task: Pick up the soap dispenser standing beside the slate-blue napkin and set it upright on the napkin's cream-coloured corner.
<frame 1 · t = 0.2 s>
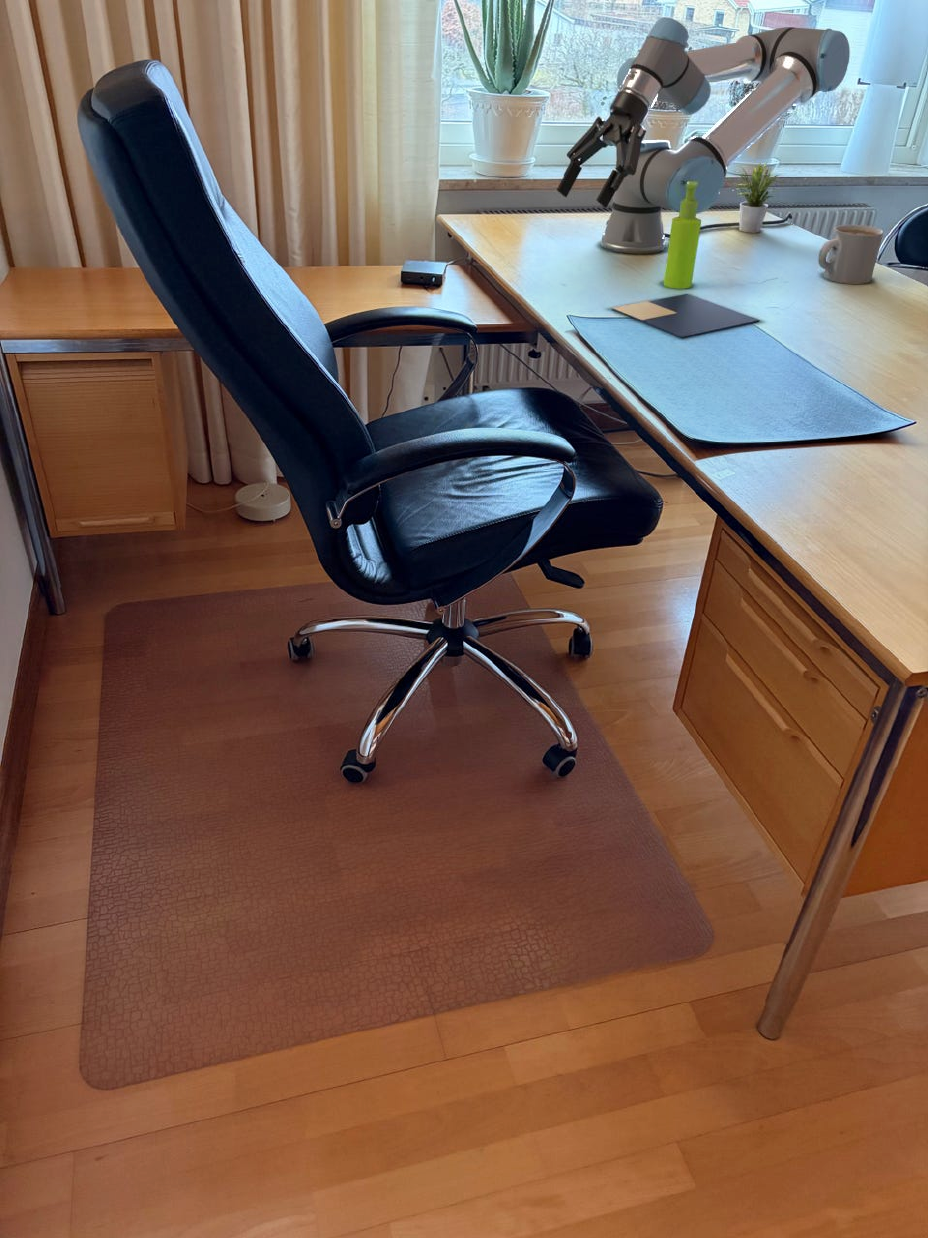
hand: (580, 198, 191), 16 cm above the table, tool tilted 35°, fingers open, 13 cm apart
house plant: (746, 229, 240), on the table
soap dispenser: (677, 285, 196), on the table
coffee mug: (839, 278, 202), on the table
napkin: (684, 315, 178), on the table
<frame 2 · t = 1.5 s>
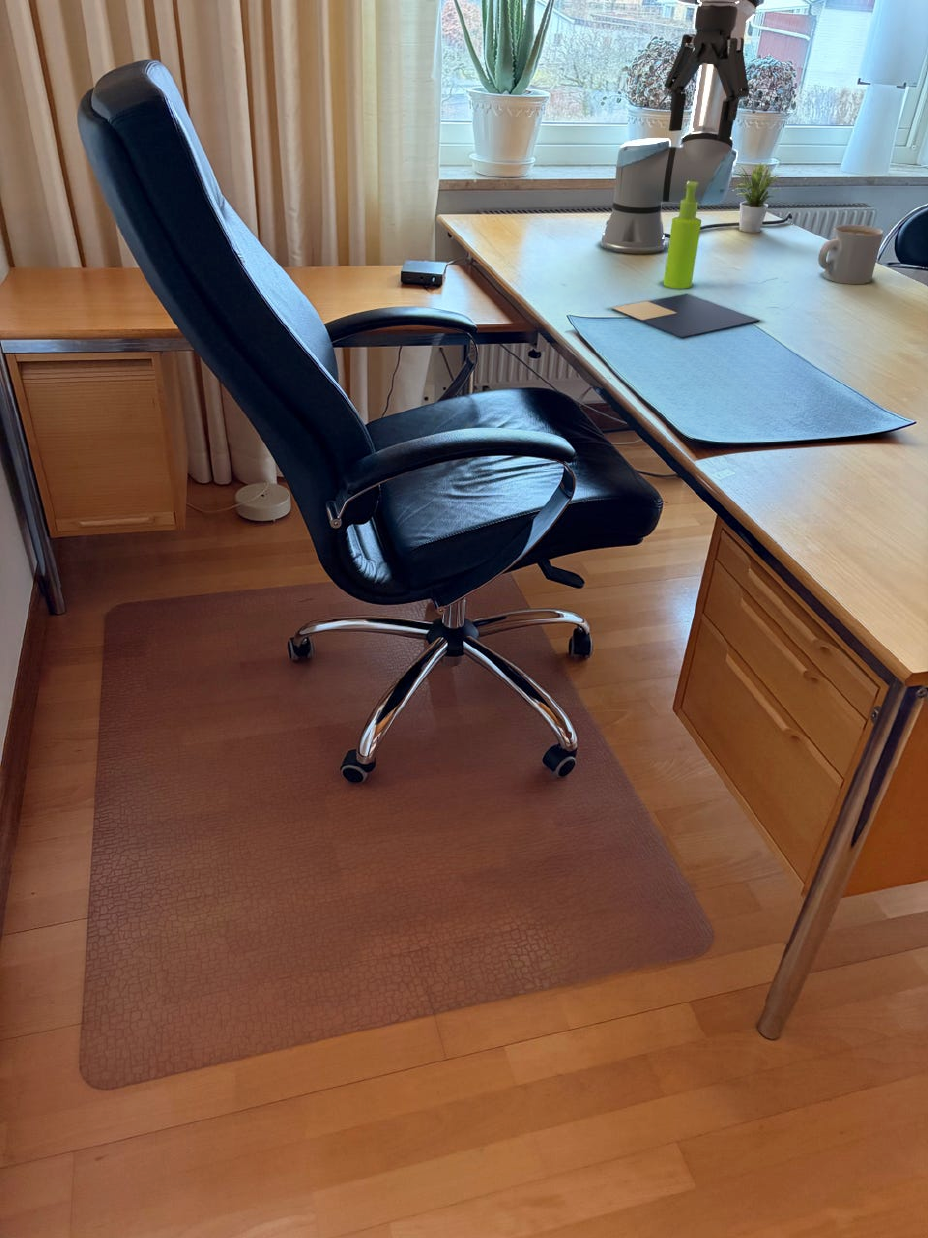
hand: (698, 134, 179), 29 cm above the table, tool pointing down, fingers open, 13 cm apart
nothing on the table moved.
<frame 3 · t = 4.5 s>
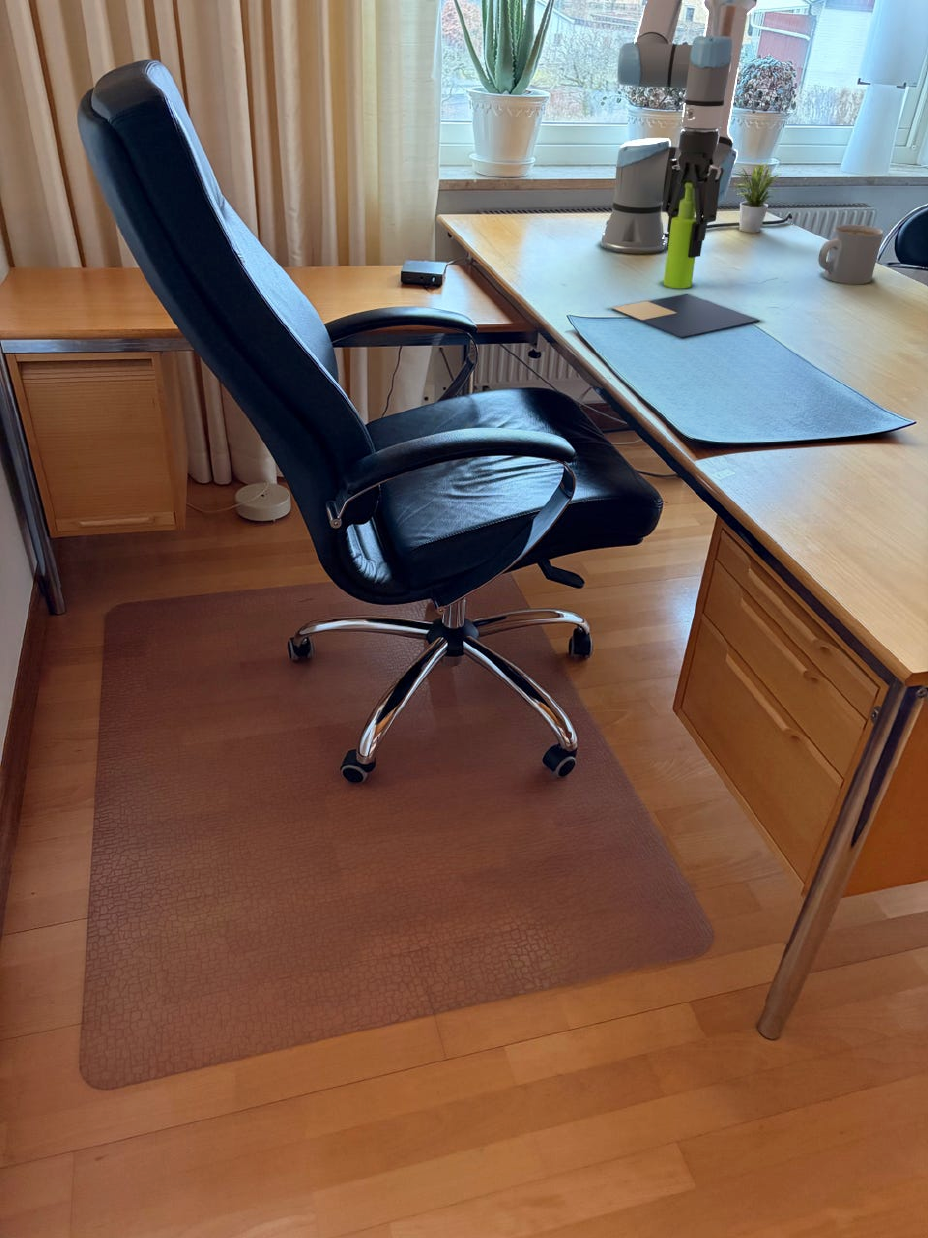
hand: (682, 252, 192), 6 cm above the table, tool pointing down, fingers closed on soap dispenser, 6 cm apart
soap dispenser: (677, 284, 196), on the table, touching gripper
everything else where it was.
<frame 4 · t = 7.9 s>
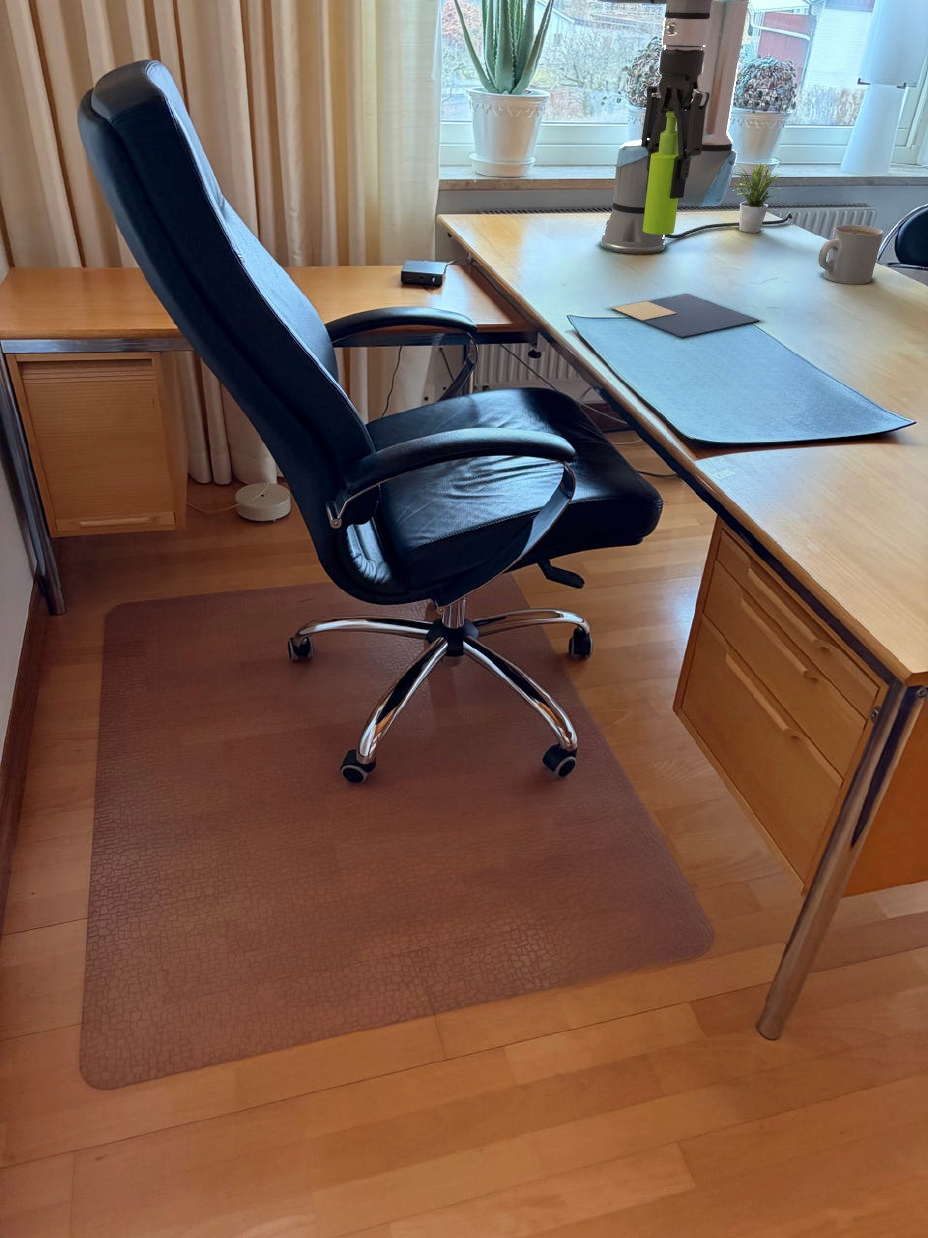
hand: (664, 194, 170), 21 cm above the table, tool pointing down, fingers closed on soap dispenser, 6 cm apart
soap dispenser: (658, 231, 174), point 14 cm above the table, touching gripper
everything else where it was.
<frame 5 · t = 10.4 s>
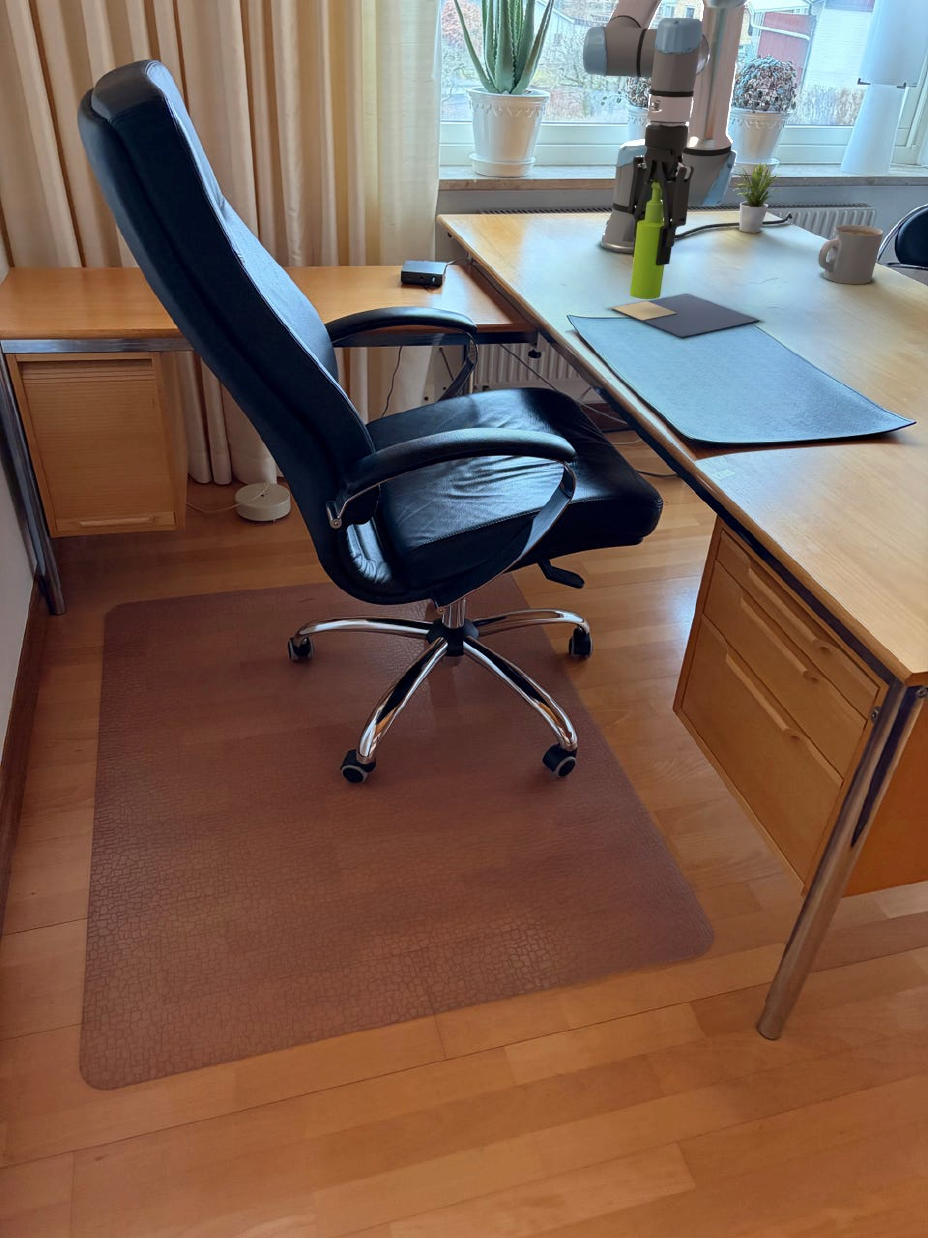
hand: (650, 259, 174), 10 cm above the table, tool pointing down, fingers closed on soap dispenser, 6 cm apart
soap dispenser: (645, 295, 178), point 3 cm above the table, touching gripper
everything else where it was.
when the fingers open (7 cm above the table, at t = 11.6 s): soap dispenser stays where it is, resting on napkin.
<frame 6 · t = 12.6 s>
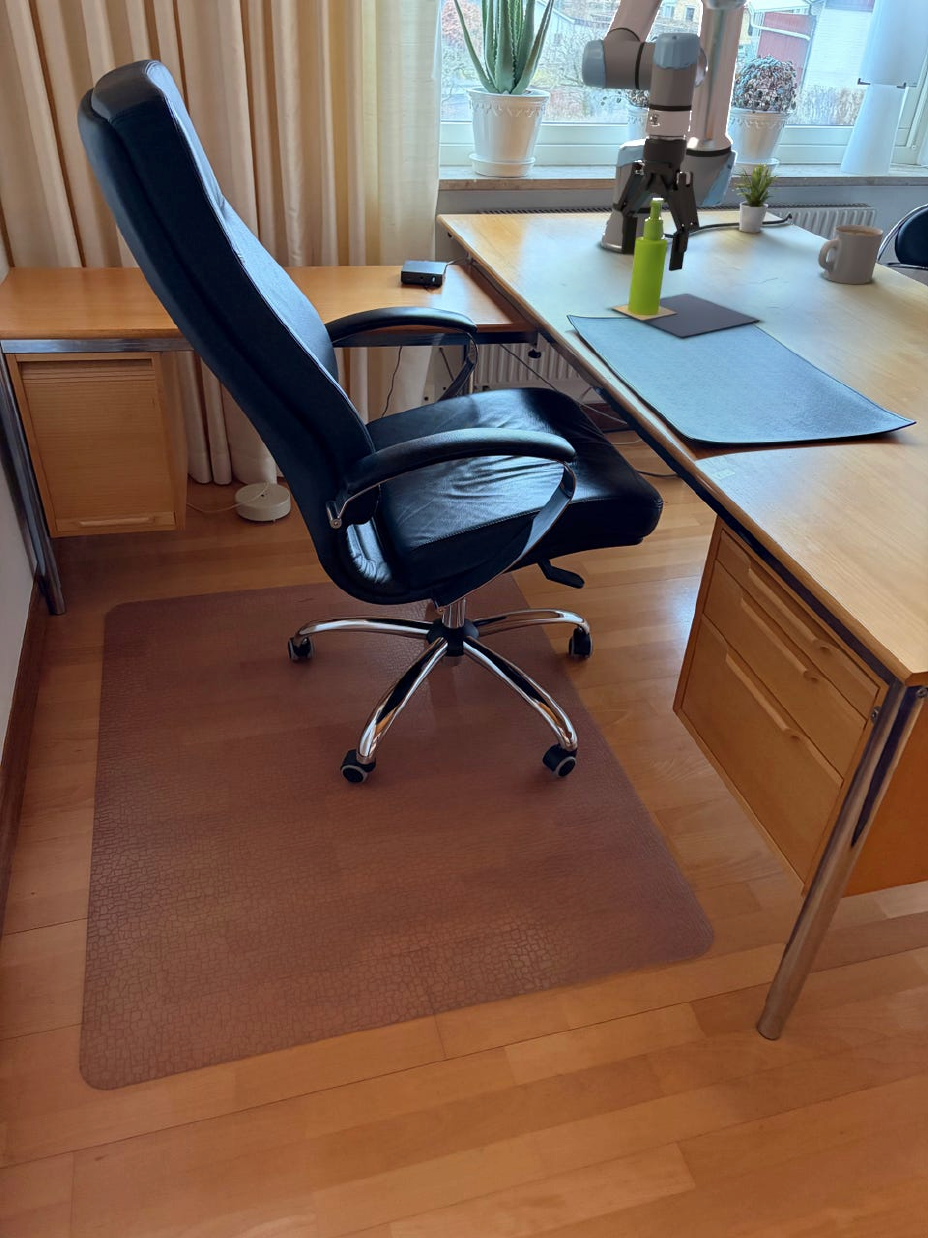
hand: (650, 261, 174), 10 cm above the table, tool pointing down, fingers open, 13 cm apart
soap dispenser: (643, 310, 180), resting on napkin
everything else where it was.
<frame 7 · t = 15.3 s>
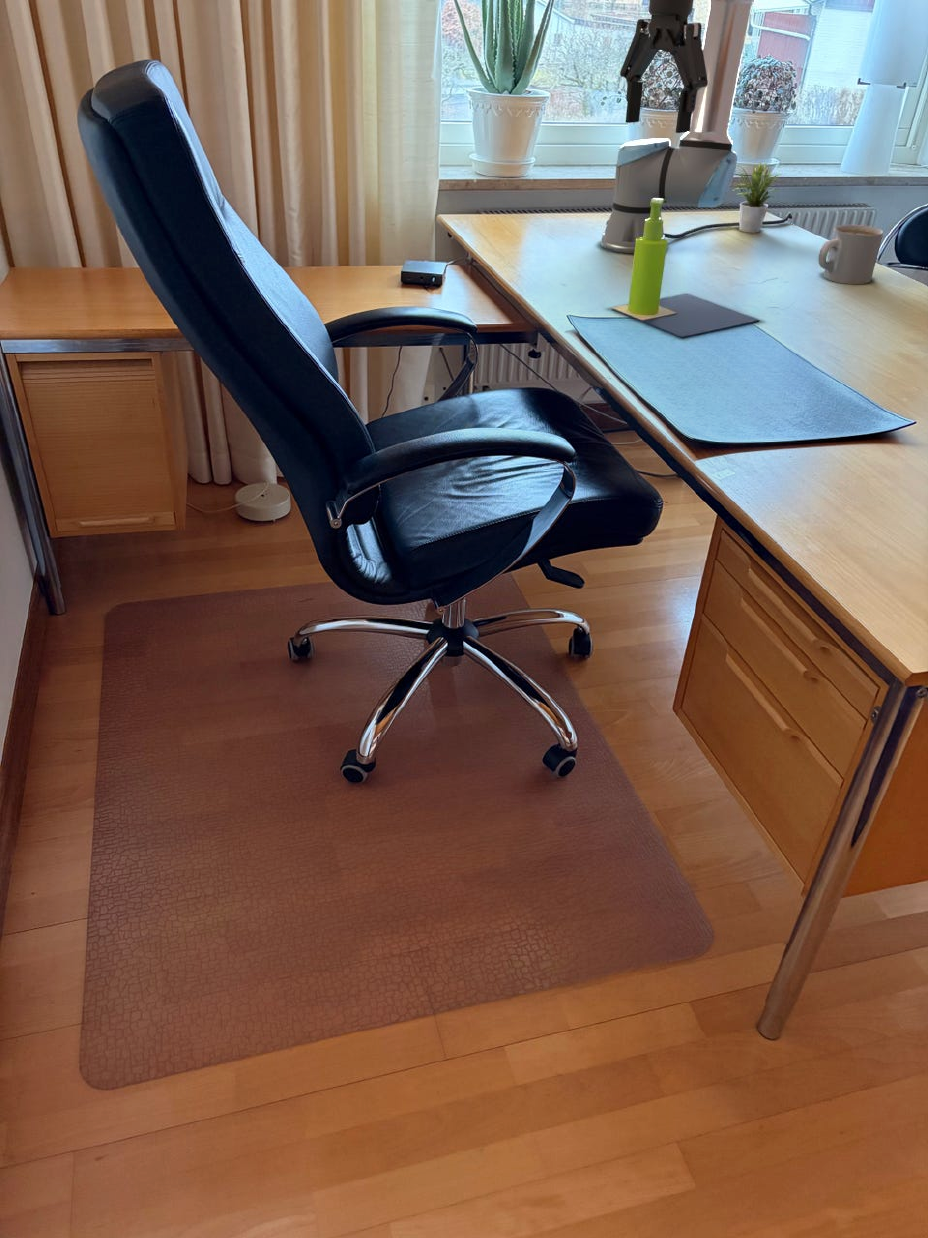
hand: (656, 127, 169), 31 cm above the table, tool pointing down, fingers open, 13 cm apart
nothing on the table moved.
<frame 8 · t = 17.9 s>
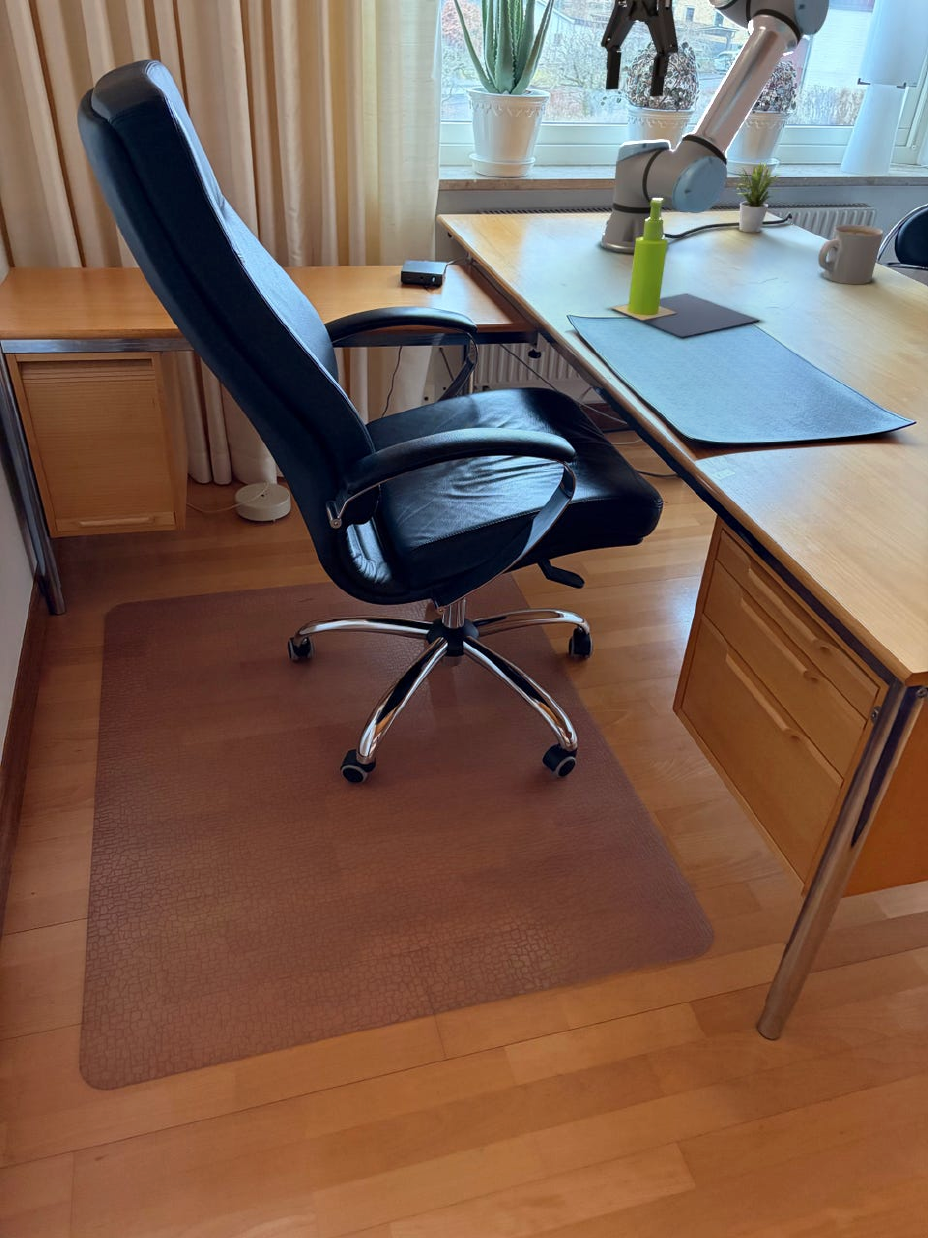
hand: (633, 92, 184), 35 cm above the table, tool pointing down, fingers open, 13 cm apart
nothing on the table moved.
at the end: soap dispenser inside the target area on the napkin (0.3 cm from its centre), point 0.2 cm above the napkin's base; soap dispenser tilted 0°; the gripper is holding nothing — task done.
